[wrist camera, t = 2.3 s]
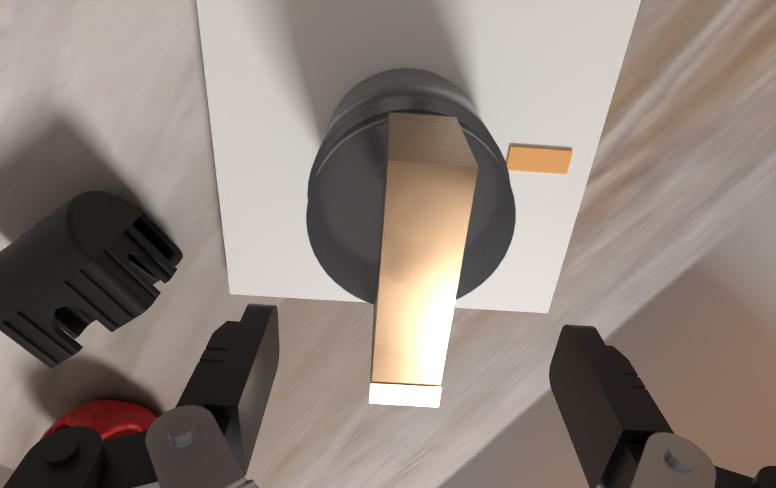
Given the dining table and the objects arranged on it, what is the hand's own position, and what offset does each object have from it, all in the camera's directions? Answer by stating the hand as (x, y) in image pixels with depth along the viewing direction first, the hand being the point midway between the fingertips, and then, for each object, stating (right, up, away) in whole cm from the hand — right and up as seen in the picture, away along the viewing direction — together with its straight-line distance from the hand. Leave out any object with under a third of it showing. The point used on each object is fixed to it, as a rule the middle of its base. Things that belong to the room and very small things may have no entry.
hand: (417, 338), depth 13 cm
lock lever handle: (0, +4, +8) cm, 9 cm away
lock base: (0, +9, +15) cm, 18 cm away
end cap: (-20, +2, +19) cm, 28 cm away
